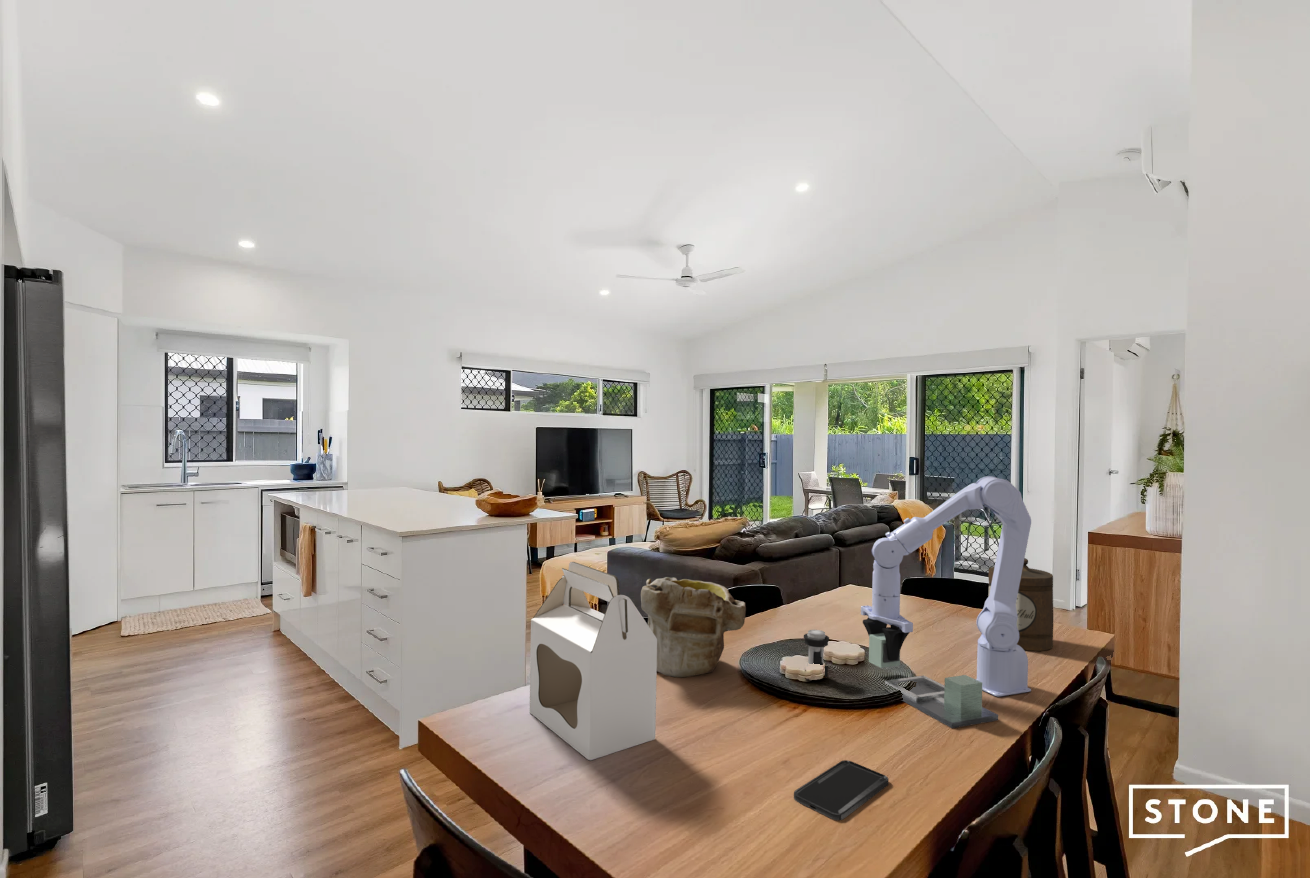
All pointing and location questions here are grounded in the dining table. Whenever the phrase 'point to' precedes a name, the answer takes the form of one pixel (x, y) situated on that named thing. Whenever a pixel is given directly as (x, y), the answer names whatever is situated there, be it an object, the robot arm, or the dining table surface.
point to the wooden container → (1033, 608)
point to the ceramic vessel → (689, 623)
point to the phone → (841, 789)
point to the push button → (816, 647)
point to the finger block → (880, 652)
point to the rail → (942, 713)
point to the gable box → (593, 666)
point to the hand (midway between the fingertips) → (885, 656)
